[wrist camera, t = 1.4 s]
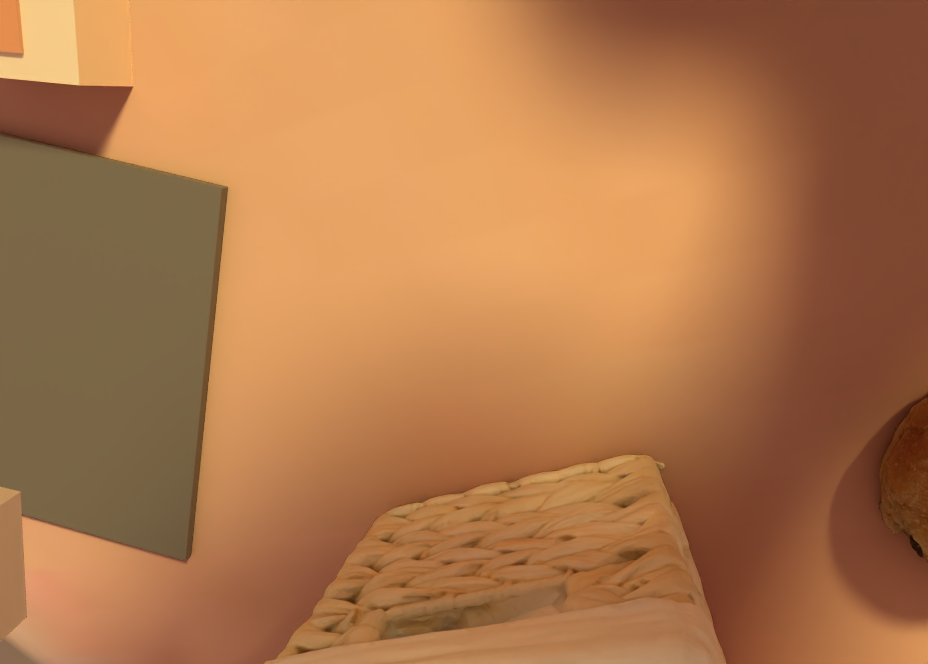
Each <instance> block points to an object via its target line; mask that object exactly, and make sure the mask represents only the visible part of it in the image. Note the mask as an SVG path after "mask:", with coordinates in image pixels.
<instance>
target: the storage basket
mask: <svg viewBox="0 0 928 664" xmlns="http://www.w3.org/2000/svg"><path fill="white" fill-rule="evenodd" d="M664 467H665V465H664V463H661V462H655V460H653V459H652V458H651V457H650V456H648V455H621V456H617V457H613V458H610V459H606V460H603V461H600V462H598V463H582V464H577V465H573V466H570V467H567V468H564V469H561V470H558V471H549V472H540V473H536V474H533V475H529V476H525V477H523V478H521V479H519V480H517V481H515V482H512V483H507V482H505V481H503V482H495V483H489V484H484V485H480V486H478V487H475V488H473V489H470V490H468V491H466V492H464V493H460V494H447V495H442V496H437V497H433V498H430V499H428V500H426V501H424V502H422V503H412V504H406V505H402V506H399V507H395V508H393V509H391V510H389V511H386V512H385V513H384V514H382V515H380V516H379V517H378V518H377V519H376V520H375V521H374V523H373V524H372V526H371V529H369V531H368V532H367V533H366V535H365V536H364V539H363V540H361V541H360V542H359V543H358V544H357V546H356V547H355V550H354V551H353V552H352V553H351V554H350V555H349V556H348V557H347V558H346V560H345V563H344V565H343V566H342V568H341V569H340V571H339V572H338V574H337V577H336V579H335V580H334V581H333V582H331V583H330V584H329V585H328V587H327V588H326V590H325V592H324V596H323V598H322V599H320V600H319V602H318V603H317V604H316V606H315V607H314V609H313V613H312V616H311V617H310V618H309V619H308V620H307V621H306V622H305V623H304V624H302V625H301V626H300V627H299V628H298V629H297V630H296V631H295V632H294V633H293V635H292V636H291V638H290V640H289V642H288V643H287V645H286V647H285V649H284V650H283V651H282V652H281V653H280V654H279V655H278V656H277V659H275V660H269V661H266V662H265V663H263V664H727V663H726V660H725V657H724V653H723V650H722V648H721V645H720V643H719V641H718V638H717V636H716V634H715V630H714V625H713V620H712V616H711V613H710V610H709V607H708V604H707V601H706V599H705V596H704V592H703V587H702V583H701V579H700V576H699V573H698V570H697V568H696V566H695V563H694V560H693V557H692V555H691V552H690V548H689V543H688V540H687V538H686V535H685V532H684V529H683V526H682V523H681V520H680V516H679V514H678V512H677V510H676V507H675V506H674V504H673V503H672V502H671V500H670V497H669V495H668V492H667V490H666V488H665V485H664V483H663V480H662V477H661V474H660V469H662V470H663V469H664Z"/></svg>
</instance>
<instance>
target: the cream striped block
mask: <svg viewBox="0 0 928 664" xmlns="http://www.w3.org/2000/svg"><path fill="white" fill-rule="evenodd" d="M0 78H9V79H19V80H29V81H40V82H50V83H60V84H70V85H85V86H133V68H132V48H131V27H130V7H129V0H0Z"/></svg>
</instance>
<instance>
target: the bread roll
mask: <svg viewBox="0 0 928 664" xmlns="http://www.w3.org/2000/svg"><path fill="white" fill-rule="evenodd" d="M879 477H880V483H881V495H882V502H881V503H880V504H879V508H880V510H881V513H882V517H883V520H884V522H885V524H886V526H887V527H888V528H889V529H891V530H892V531H893V532H894V533H895V534H896V533H898V532H900V531H902V530H903V531H904V532H905V534H906V535H907V536H908V538H909V539H910V543H911V545H912V548H913V549H914V550H915V551H916V552H917V554H918V555H919V556H920V557H923V558H925V559H926V560H927V562H928V397H927V398H925V399H923V400H922V401H920V402H919V403H917V404H916V405H914V406H913V407H912V408H911V409H910V413H909V414H908V415H907V417H905V418H904V420H903V421H902V422H901V424H900V425H899V426H898V427H897V428H896V429H895V434H894V437H893V439H892V442H891V444H890V446H889V447H888V449H887V451H886V453H885V456H884V458H883V461H882V464H881V468H880V471H879Z"/></svg>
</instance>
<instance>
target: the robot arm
mask: <svg viewBox="0 0 928 664" xmlns="http://www.w3.org/2000/svg"><path fill="white" fill-rule="evenodd" d="M26 617H27V610H26V590H25V570H24V550H23V531H22V511H21V491H16V490H12V489H8V488H4V487H0V641H1V640H3V639H4V638H5V637H6V636H7V635H8V634H9V633H10V632H11V631H12V630H13V629H14V628H15V627H17V626H18V625H19V624H20V623H21V622H22V621H23V620H24V619H25V618H26Z"/></svg>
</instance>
